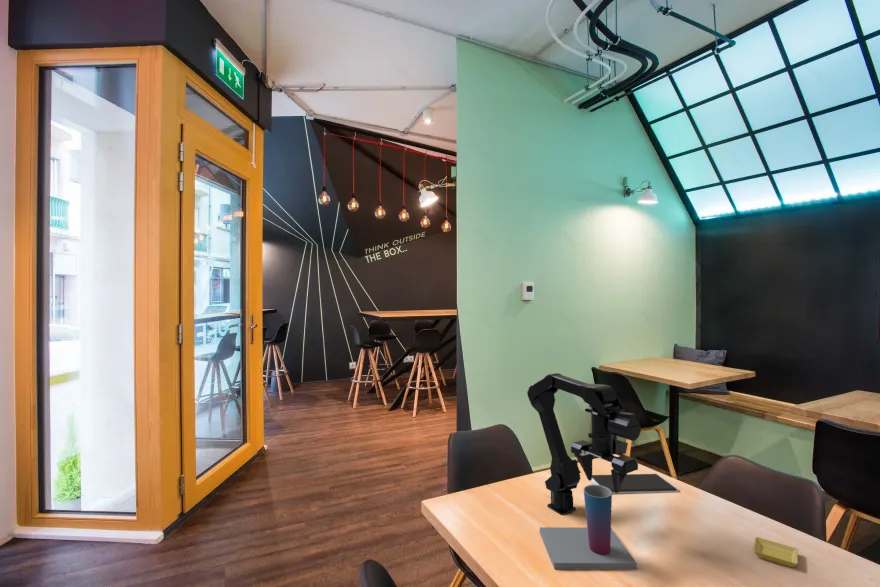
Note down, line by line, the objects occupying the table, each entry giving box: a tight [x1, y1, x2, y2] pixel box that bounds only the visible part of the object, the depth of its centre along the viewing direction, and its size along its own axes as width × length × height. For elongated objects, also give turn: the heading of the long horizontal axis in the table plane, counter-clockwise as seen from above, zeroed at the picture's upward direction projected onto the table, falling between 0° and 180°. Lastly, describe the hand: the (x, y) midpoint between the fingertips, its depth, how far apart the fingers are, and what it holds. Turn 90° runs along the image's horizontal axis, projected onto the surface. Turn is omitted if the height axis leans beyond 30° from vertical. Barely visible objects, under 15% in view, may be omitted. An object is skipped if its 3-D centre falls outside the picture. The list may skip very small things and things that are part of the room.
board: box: [539, 526, 638, 570], centre depth 109 cm, size 20×16×2 cm
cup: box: [583, 484, 613, 555], centre depth 107 cm, size 7×7×15 cm
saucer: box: [752, 536, 799, 568], centre depth 106 cm, size 9×9×2 cm
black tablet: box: [589, 473, 680, 495], centre depth 148 cm, size 13×27×2 cm, turn 93°
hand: (603, 486), depth 117 cm, fingers open, 9 cm apart
